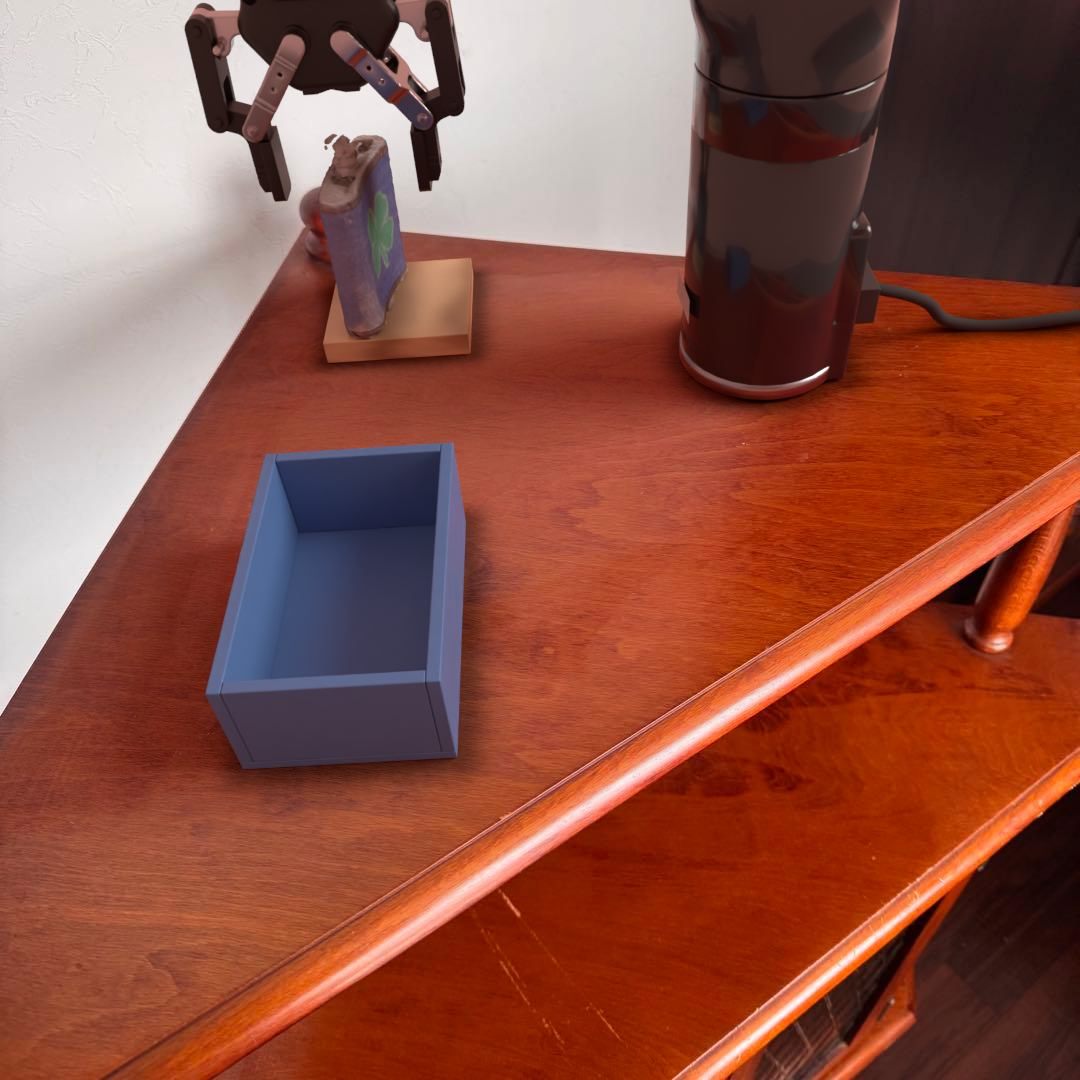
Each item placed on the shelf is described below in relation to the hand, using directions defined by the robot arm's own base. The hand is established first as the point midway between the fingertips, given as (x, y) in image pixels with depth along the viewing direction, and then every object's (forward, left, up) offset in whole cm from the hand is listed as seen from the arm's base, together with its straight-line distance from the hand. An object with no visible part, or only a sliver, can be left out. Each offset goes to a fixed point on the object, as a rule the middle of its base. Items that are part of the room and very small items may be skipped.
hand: (355, 190), depth 60 cm
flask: (0, 0, -8) cm, 8 cm away
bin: (-1, +26, -9) cm, 28 cm away
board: (-1, 0, -9) cm, 9 cm away
